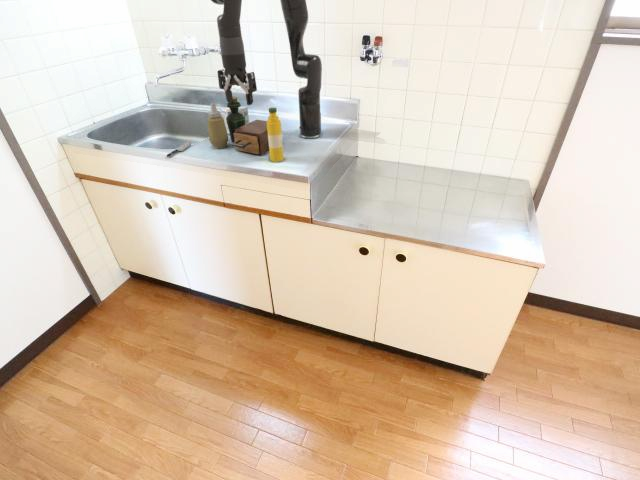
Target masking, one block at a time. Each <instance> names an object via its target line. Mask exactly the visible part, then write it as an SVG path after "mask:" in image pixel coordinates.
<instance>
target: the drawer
mask: <svg viewBox="0 0 640 480" xmlns="http://www.w3.org/2000/svg"><path fill="white" fill-rule="evenodd" d="M233 134H234V140H235V142H234V141H232V142H230V146H231V147H234V148H235V150H236V151H238V150H239V151H238V152H243V151H244V152H245V153H248V152H249V153H248V154H253V153H254V154H253V155H257V154H259V143H258V136H256V135H250V134H245V133H233ZM244 152H243V153H244Z"/></svg>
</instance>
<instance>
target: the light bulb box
mask: <svg viewBox="0 0 640 480" xmlns="http://www.w3.org/2000/svg"><path fill="white" fill-rule="evenodd" d="M240 105H241V106H240V107H239V109H238V112H239V113H241V114H243V115H244V116H245V125H246V124H248V123H250V115H249V108H248V107H247V106H246V105H243V104H240ZM230 113H231V110H230V108H228V107H223V108H220V114H221V117H223V118H224V122H225V126H226V130H227V134H228V135H230V133H229V129H228V125H227V121H226V118H227V116H228V115H229V114H230Z"/></svg>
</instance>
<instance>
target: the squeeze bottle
mask: <svg viewBox="0 0 640 480" xmlns="http://www.w3.org/2000/svg"><path fill="white" fill-rule="evenodd" d="M206 120H207V130H208V140H209V142H210V144H211V146H212V147H213V148H214V149H223V148H226V147H227V146H228V143H229V134H228V133H227V130H226V126H225V122H224V118H223V117H222V114H221V110H218V109H217V106H216V104H215V102H210V110H209V111H208V118H207V119H206Z"/></svg>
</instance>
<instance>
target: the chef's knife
mask: <svg viewBox="0 0 640 480" xmlns="http://www.w3.org/2000/svg"><path fill="white" fill-rule="evenodd" d="M191 145H192V140H189V141H187V142H185V143H184V144H182V145H181V146H179V147H177V148H176V149H174V150H173V151H171V152H169V153H167V154H166V157H167V158H169V157H170V158H171V156H172V155H174V154H176V153H177V152H184V151H185V150H186V149H188V148H189V147H191Z"/></svg>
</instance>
